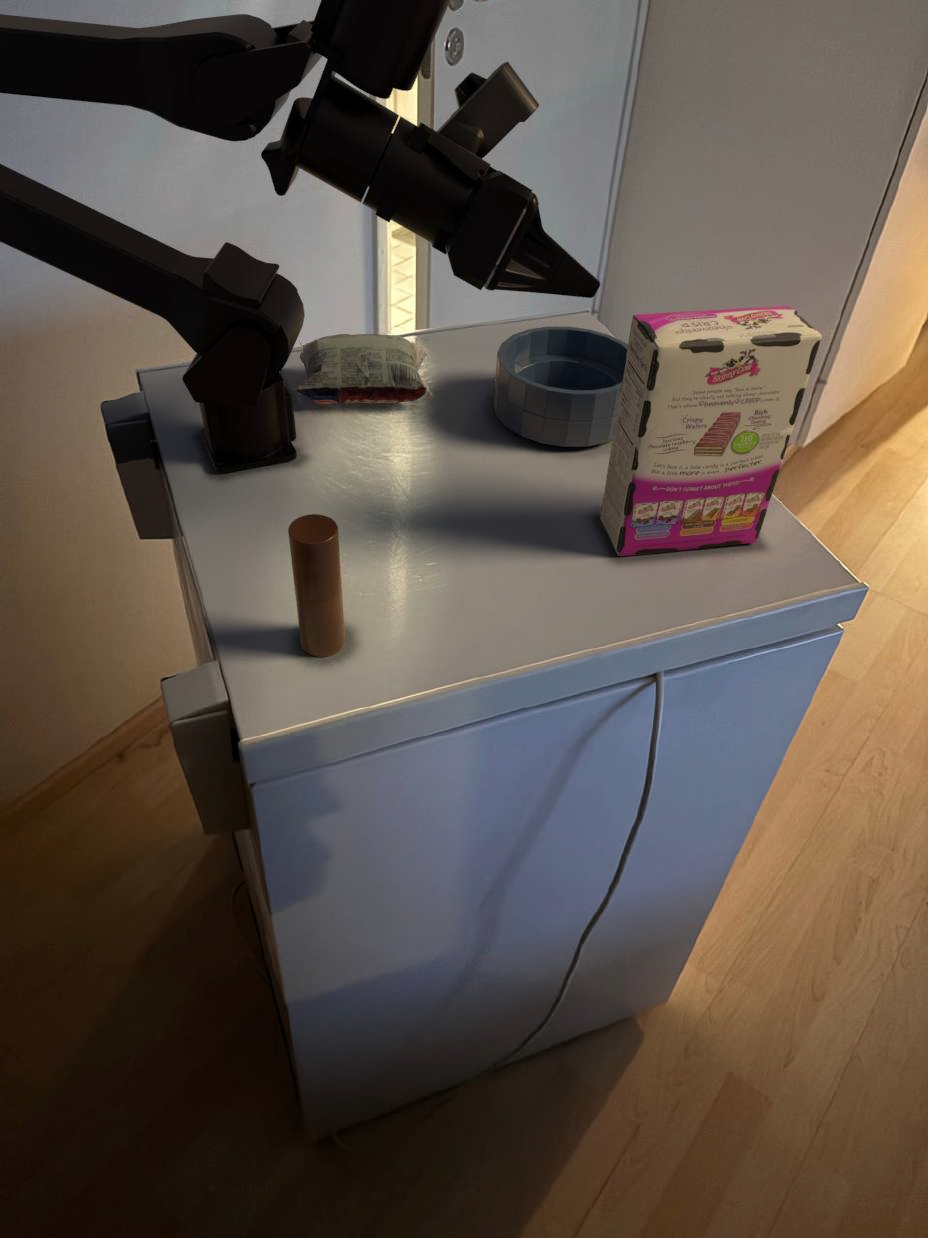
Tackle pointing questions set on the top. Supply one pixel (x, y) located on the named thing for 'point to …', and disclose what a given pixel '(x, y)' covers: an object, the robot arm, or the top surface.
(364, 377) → the packaged food
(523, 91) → the robot arm
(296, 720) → the top surface
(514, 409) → the bowl
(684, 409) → the candy bar box
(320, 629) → the brown wooden cylinder
